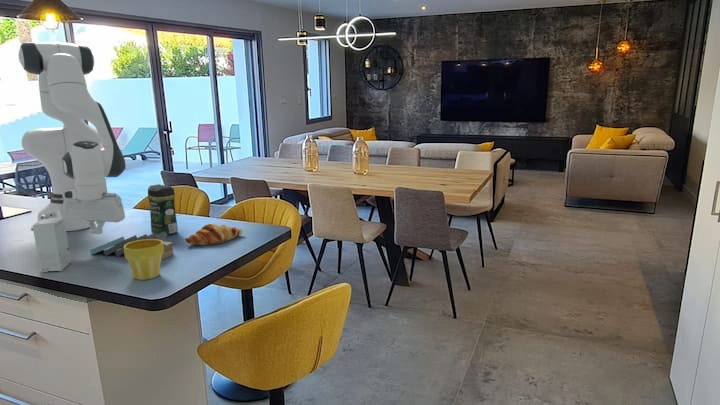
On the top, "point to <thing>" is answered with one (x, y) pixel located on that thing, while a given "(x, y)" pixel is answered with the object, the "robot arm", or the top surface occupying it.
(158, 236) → the domino
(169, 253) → the end block
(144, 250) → the plant pot
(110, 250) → the domino
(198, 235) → the croissant
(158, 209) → the coffee jar
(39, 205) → the top surface
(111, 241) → the domino
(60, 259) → the skincare box
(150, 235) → the domino
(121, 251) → the domino
